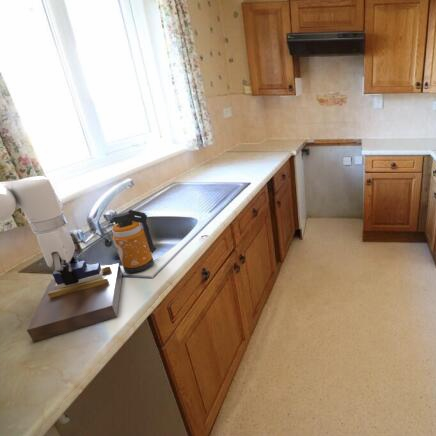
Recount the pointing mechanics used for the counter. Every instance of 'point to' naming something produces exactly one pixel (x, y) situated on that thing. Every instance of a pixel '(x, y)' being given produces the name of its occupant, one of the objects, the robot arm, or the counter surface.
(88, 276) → the blue box
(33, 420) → the counter surface
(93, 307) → the brown rectangular slab
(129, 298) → the counter surface
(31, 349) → the counter surface
